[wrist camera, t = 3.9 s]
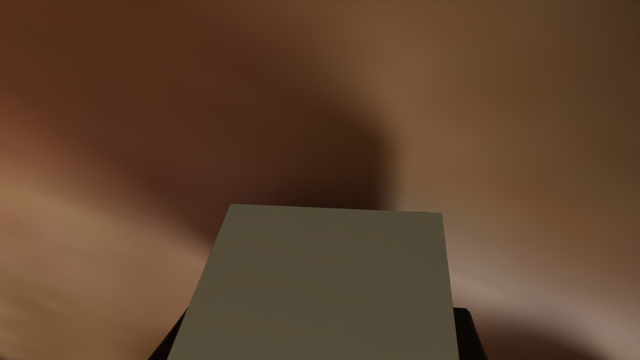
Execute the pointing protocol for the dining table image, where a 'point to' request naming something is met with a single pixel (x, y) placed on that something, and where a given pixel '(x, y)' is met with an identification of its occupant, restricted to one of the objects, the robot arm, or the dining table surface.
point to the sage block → (322, 288)
